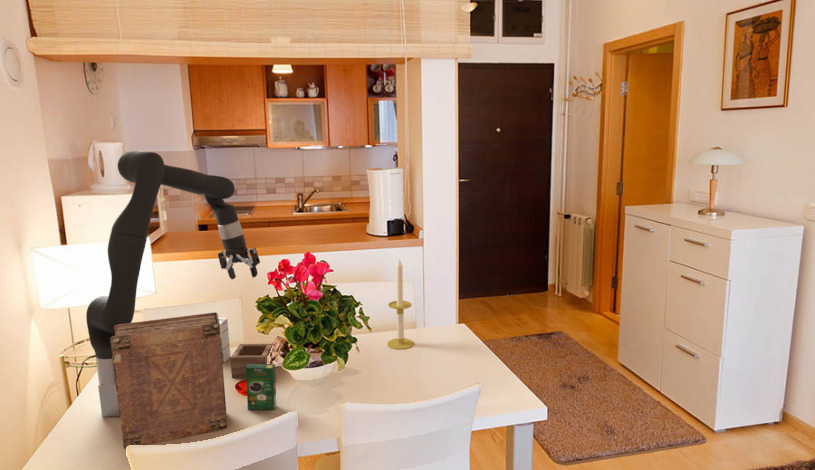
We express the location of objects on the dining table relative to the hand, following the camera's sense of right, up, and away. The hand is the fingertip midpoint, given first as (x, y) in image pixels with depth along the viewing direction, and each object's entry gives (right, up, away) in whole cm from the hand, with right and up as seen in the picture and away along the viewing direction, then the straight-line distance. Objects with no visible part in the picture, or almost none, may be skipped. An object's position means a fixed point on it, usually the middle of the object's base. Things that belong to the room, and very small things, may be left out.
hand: (244, 277), depth 195 cm
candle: (+55, -25, +8) cm, 61 cm away
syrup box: (-7, -28, -4) cm, 30 cm away
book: (-4, -37, -48) cm, 61 cm away
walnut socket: (+7, -30, -12) cm, 33 cm away
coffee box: (+16, -35, -37) cm, 53 cm away
